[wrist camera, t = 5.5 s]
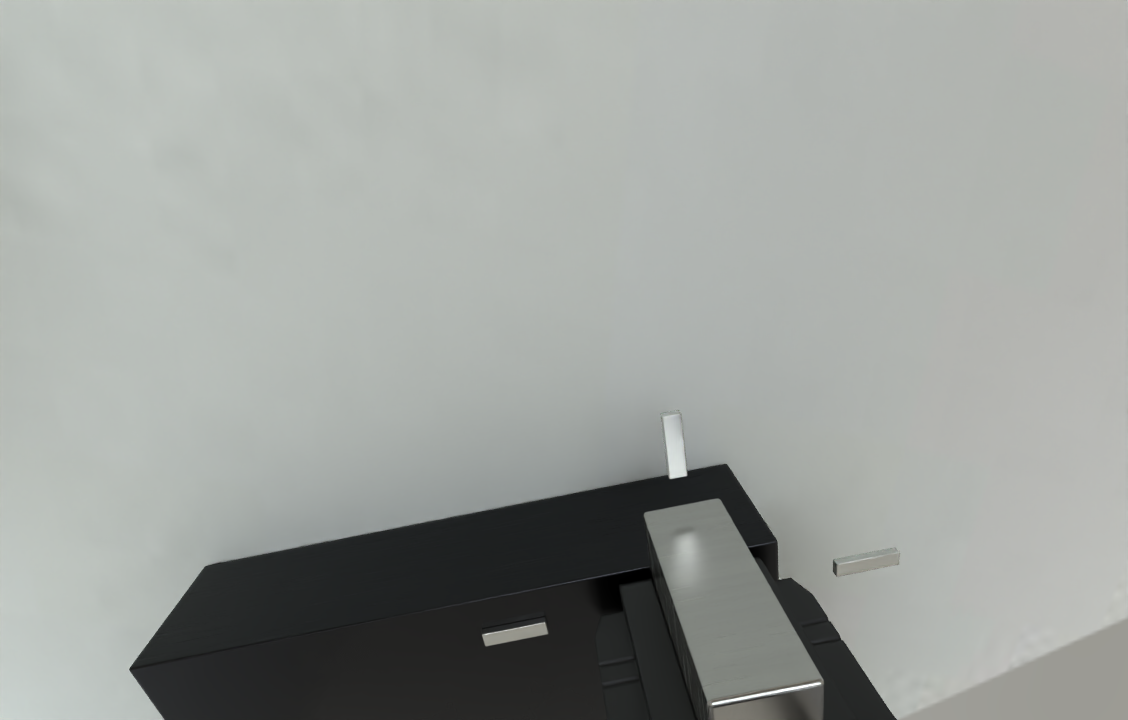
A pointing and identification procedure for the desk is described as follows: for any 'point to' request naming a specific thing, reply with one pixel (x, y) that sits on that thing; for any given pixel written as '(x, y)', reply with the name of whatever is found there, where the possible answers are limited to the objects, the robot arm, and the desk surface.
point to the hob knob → (727, 620)
